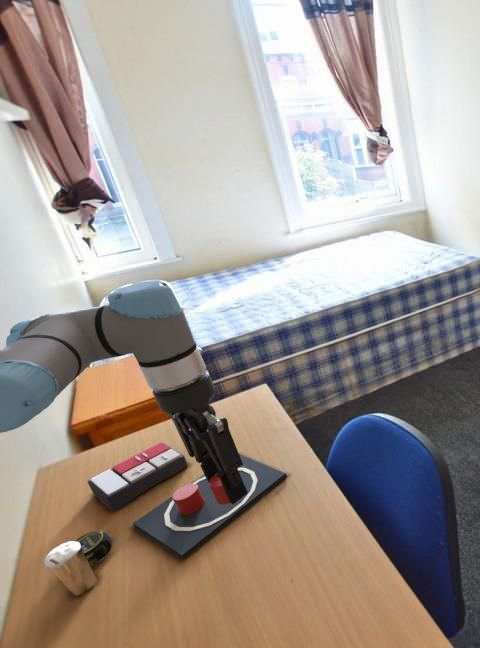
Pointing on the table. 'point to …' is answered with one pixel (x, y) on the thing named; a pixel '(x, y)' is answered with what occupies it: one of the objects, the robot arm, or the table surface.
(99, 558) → the tape measure
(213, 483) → the red short cylinder
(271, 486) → the face mat
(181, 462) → the calculator
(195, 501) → the red cylinder block
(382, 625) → the table surface
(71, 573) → the milkshake
